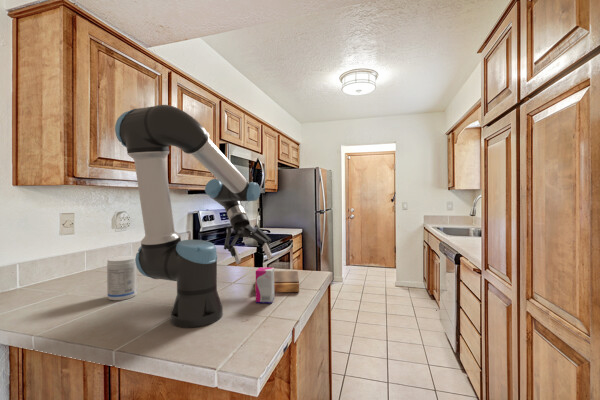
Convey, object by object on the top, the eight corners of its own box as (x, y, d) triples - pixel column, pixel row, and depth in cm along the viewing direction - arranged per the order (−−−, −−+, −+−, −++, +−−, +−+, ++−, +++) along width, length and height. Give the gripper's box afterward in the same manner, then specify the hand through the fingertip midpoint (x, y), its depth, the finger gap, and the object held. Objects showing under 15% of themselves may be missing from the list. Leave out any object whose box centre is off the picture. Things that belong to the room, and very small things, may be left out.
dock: (255, 293, 109) (255, 283, 109) (259, 280, 127) (259, 271, 127) (299, 293, 110) (299, 282, 110) (297, 279, 127) (297, 271, 127)
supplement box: (274, 298, 104) (274, 267, 104) (271, 304, 99) (271, 271, 98) (259, 297, 105) (259, 266, 105) (255, 303, 99) (255, 270, 99)
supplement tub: (115, 293, 110) (114, 255, 110) (141, 291, 112) (141, 254, 112) (102, 302, 101) (101, 261, 101) (130, 300, 102) (130, 260, 102)
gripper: (261, 222, 131) (278, 261, 119) (207, 226, 116) (221, 270, 104) (266, 211, 127) (285, 250, 115) (212, 214, 112) (227, 258, 100)
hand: (255, 260), depth 110 cm, fingers open, 13 cm apart
